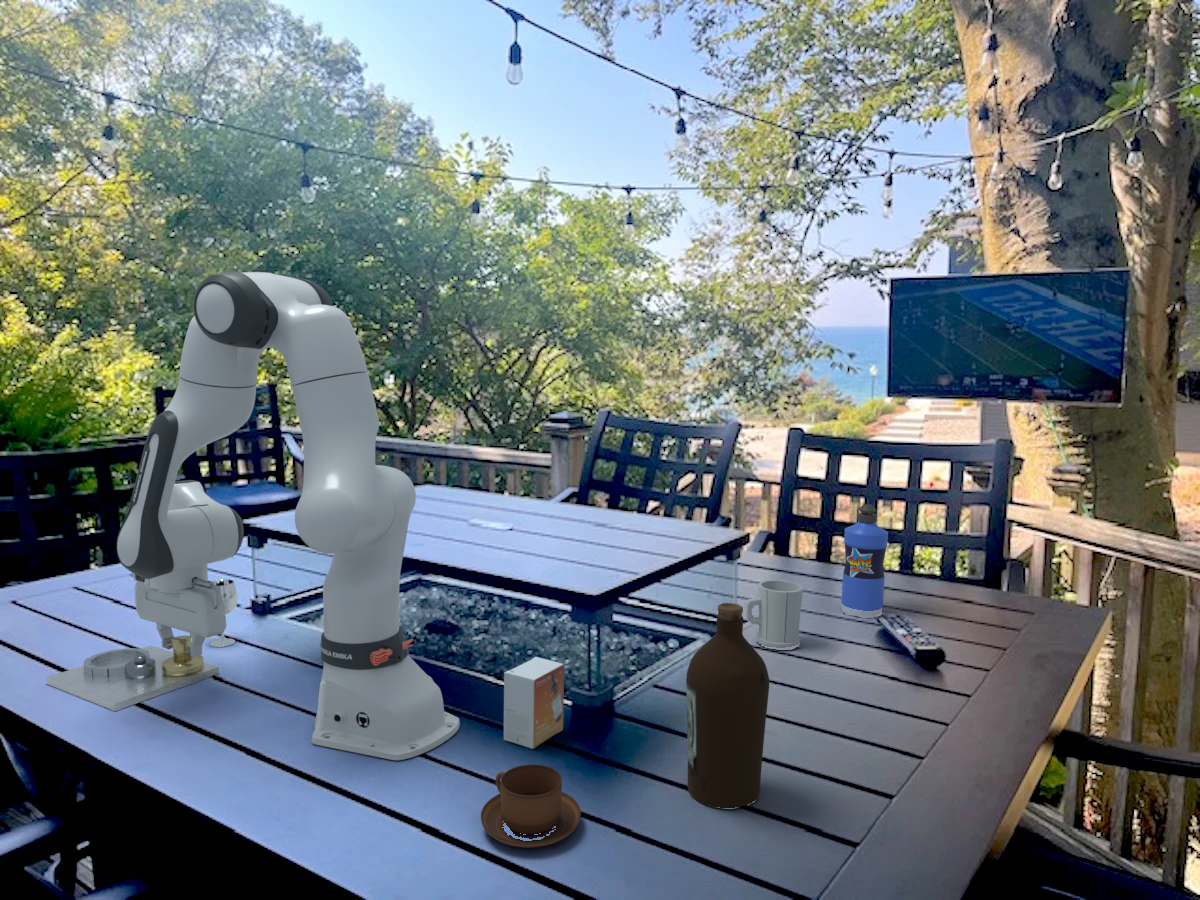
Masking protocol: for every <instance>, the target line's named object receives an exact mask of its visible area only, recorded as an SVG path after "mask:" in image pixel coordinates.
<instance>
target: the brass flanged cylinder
mask: <svg viewBox="0 0 1200 900" xmlns="http://www.w3.org/2000/svg"><path fill="white" fill-rule="evenodd" d="M174 637H175V638H173V648H172V652H173V657H171V658H168V659H166V660H164V661H163V662H162V674H163V675H166V676H185V675H190V674H193V673H196V672H198V671H200V670H202V669H203V667H204V663H205V662H204V656H203V655H202V654H201V655H200V656H197V657H192V656H189V655H188V654H187V652H188V651H187V646H190V645H191V642H192V638H190V635H179V636H174ZM203 662H204V663H203Z"/></svg>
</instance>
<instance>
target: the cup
mask: <svg viewBox="0 0 1200 900" xmlns="http://www.w3.org/2000/svg"><path fill="white" fill-rule="evenodd" d="M803 592H804V587H803V586H802V584H799V583H797V582H794V581H789V580H781V579H780V580H779V579H771V580H770V579H769V580H761V582H759V583H758V584H757V593H758V595H757V597H750V598H747V599H746V601H745V602H744V608H745V609H744V610H745V612H744V613H745V619H746V620H747V621H748V622H749V623H751V624H752V625H758V632H757V633H756V635H755V642H756V643H757V642H758V643H759V644H761V645H764V646H767V647H776V648H786V647H792V646H795V645H798V644H799V643H800V641H801V640H802V639H801V636H800V635H799V633H800V620H801V611H802V610H801V609H802V602H803V595H804V593H803ZM756 606H758V617H755V616H754V615H753V614H752V613H753V612H752V611H753V610H752V609H754V607H756ZM758 643H757V644H758ZM759 644H758V645H759Z"/></svg>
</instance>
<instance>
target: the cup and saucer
mask: <svg viewBox="0 0 1200 900" xmlns="http://www.w3.org/2000/svg"><path fill="white" fill-rule="evenodd" d="M495 786H496V789H497V791H498V792H499V793H498V794H497V795H494V796H493V797H491V798H490V799H489V800H488V801H487V802H486V803H485V804H484V806H483V807H482V809H481V812H480V821H481V824H482V828H483V829H484V831H485V832H486V833H487V834H488V835H489V836H490V837H492V838H493V839H495V840H496V841H498V842H500V843H502V844H504V845H508V846H512V847H515V848H516V847H517V848H526V849H529V848H530V849H531V848H540V847H547V846H549V845H553V844H555V843H557V842H560V841H562V840H564V839H565V838H567V837H569V835H570V834H572V833H573V832H574V831H575V830H576V828H577V827H578V826H579V823H580V820H581V815H582V810H581V807H580V805H579V803H578V802H577V800H576V799H575V798H573V797H572V796H571V795H569V794H567V793H566V792H563V791H562V789H563V788H562V787H563V778H562V775H561V773H560V772H559V771H558V770H556V769H555V768H554V767H550V766H547V765H544V764H536V763H535V764H534V763H533V764H524V765H523V764H522V765H518V766H514V767H512V768H510V769H508V770H507V771H499V772H497V774H496V776H495ZM503 821H504V822H503ZM504 823H506V825H507V826H508V827H509V828H510V830H511V831H512V832H513V834H515V836H518V837H520V836H521V837H522V838H523V837H524V838H529V839H533V838H537V837H543V836H545V837H544V838H543V839H541V840H532V841H523V840H520V839H515V838H513V837H512V836H511V835H509V836H508V835H507V833H506V832H505V831H504V828H502V827H504V826H503V824H504ZM554 826H556V828H553V827H554ZM552 828H553V829H552ZM554 829H556V830H554ZM552 830H554V832H551V833H550V835H549V836H546V834H549V832H550V831H552ZM520 833H521V834H520ZM539 833H541V834H539ZM523 834H526V835H523ZM534 834H538V835H534Z"/></svg>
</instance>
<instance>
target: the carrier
mask: <svg viewBox="0 0 1200 900" xmlns="http://www.w3.org/2000/svg"><path fill="white" fill-rule="evenodd" d="M171 657H173V651H169V650H168V649H165V648H164V649H163V648H160V647H157V646H153V645H148V646H145V647H141V648H139V647H138V648H134V647H133V648H132V647H131V648H128V647H127V648H118V649H110V650H106V651H103V652H100V653H96V654H94V655H92V656H90V657H89V658H86V659H85V660H84V661H83V665H82V666H77V667H75V668H72V669H68V670H66V671H62V672H59V673H55V674H52V675H49V676H48V675H47V676H46V678H45V680H46V685H48V686H51V687H53V688H56V689H58V690H60V691H63V692H65V693H69V694H71V695H73V696H74V697H77V698H80V699H83V700H85V701H88V702H91V703H93V704H95V705H98V706H101V707H102V708H106V709H108V710H111V711H113V712H116V711H119V710H120V711H121V710H123V709H125V708H128V707H130V706H134V705H136V704H138V703H142V702H145V701H148V700H151V699H152V698H155V697H158V696H162V695H164V694H166V693H169V692H172V691H174V690H178V689H180V688H183V687H186V686H189V685H191V683H192V684H194V683H197V682H200V681H203V680H206V679H208V678H211V677H213V675H214V676H216V675H218V674H220V671H219V666H216V665H214V664H209V663H208V662H204V661H203V663H204V667H203V669H202V670H200V671H198V672H196V673H193V674H190V675H185V676H166V675H163V674H162V662H163V661H164V660H166V659H168V658H171Z"/></svg>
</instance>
